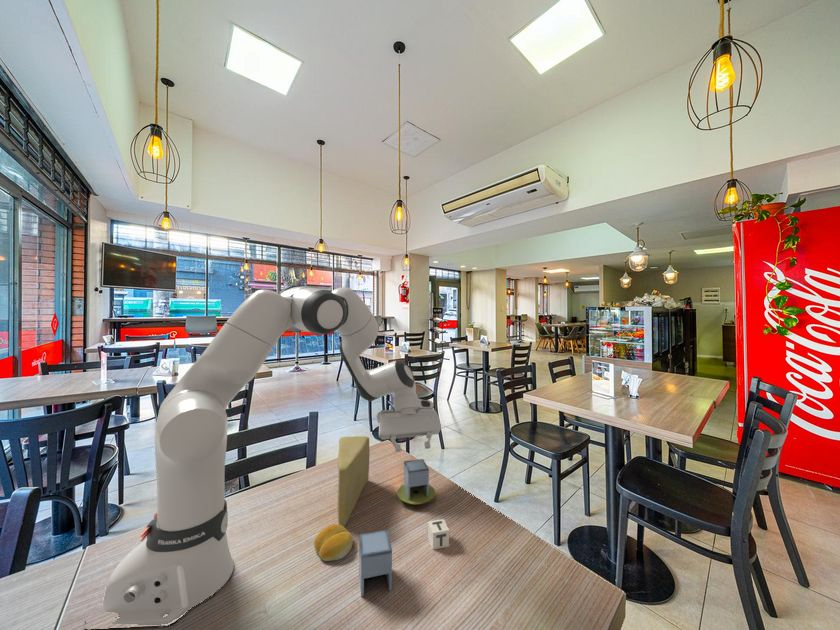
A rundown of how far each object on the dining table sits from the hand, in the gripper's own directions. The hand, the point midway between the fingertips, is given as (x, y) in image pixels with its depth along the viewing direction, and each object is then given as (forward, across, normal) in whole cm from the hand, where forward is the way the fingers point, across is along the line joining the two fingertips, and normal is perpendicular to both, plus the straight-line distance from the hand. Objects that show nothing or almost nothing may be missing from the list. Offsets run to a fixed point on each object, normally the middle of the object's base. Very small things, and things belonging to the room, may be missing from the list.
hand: (413, 449), depth 96 cm
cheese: (+10, -19, +8) cm, 23 cm away
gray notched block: (+30, -15, -12) cm, 36 cm away
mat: (+12, 0, +6) cm, 13 cm away
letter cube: (+25, +1, -7) cm, 26 cm away
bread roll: (+22, -24, -4) cm, 32 cm away
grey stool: (+11, 0, +4) cm, 11 cm away
